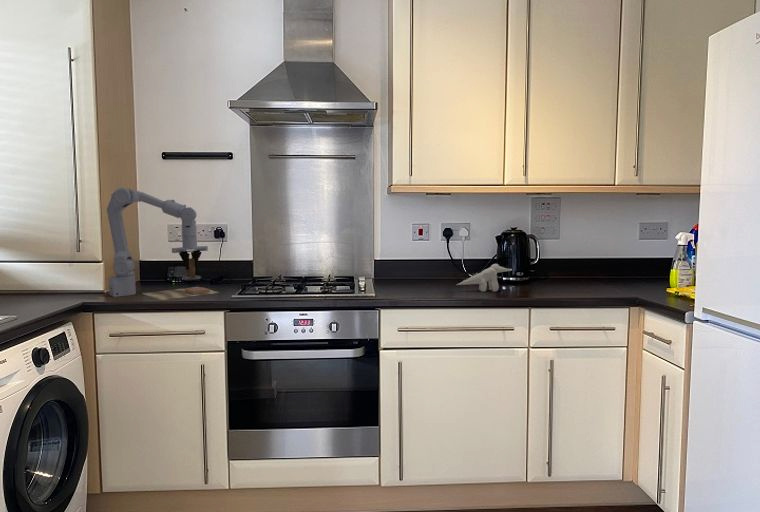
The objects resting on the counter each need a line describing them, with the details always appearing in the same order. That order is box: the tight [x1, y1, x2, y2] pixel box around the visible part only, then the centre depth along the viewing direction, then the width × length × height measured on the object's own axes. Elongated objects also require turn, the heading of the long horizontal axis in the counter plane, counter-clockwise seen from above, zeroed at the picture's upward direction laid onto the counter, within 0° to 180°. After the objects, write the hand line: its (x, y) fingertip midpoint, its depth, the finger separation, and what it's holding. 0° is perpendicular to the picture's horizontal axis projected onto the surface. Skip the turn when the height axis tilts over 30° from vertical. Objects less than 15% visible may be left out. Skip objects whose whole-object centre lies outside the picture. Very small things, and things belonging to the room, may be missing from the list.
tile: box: [185, 286, 211, 295], centre depth 217 cm, size 7×2×8 cm
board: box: [141, 286, 221, 301], centre depth 217 cm, size 24×22×1 cm
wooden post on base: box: [181, 257, 202, 281], centre depth 220 cm, size 6×5×8 cm
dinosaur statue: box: [456, 263, 513, 293], centre depth 218 cm, size 7×24×11 cm, turn 94°
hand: (191, 269), depth 220 cm, fingers closed on wooden post on base, 2 cm apart
